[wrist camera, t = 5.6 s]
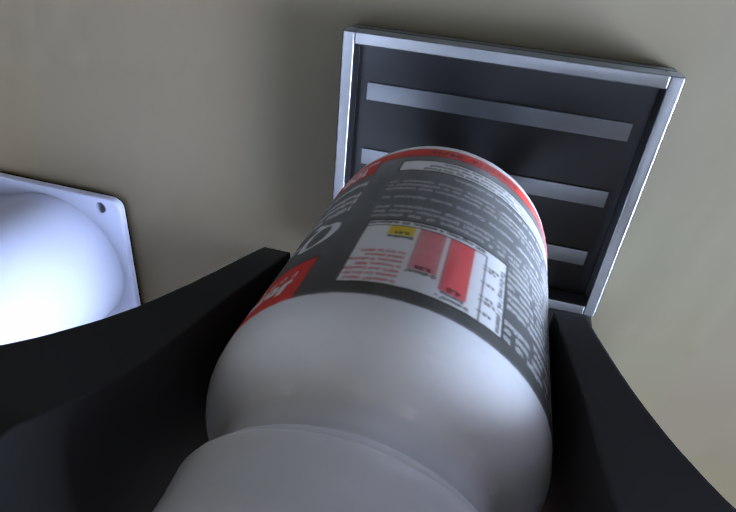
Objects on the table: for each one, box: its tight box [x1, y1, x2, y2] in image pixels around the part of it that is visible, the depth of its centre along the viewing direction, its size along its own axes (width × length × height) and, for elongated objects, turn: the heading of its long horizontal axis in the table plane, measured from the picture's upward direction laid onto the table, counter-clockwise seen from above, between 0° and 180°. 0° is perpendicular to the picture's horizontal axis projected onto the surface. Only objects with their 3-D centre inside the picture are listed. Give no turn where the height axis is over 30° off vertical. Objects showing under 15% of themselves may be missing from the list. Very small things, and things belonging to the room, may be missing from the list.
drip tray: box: [333, 25, 686, 317], centre depth 19 cm, size 10×9×1 cm
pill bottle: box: [153, 146, 553, 512], centre depth 10 cm, size 6×6×10 cm
